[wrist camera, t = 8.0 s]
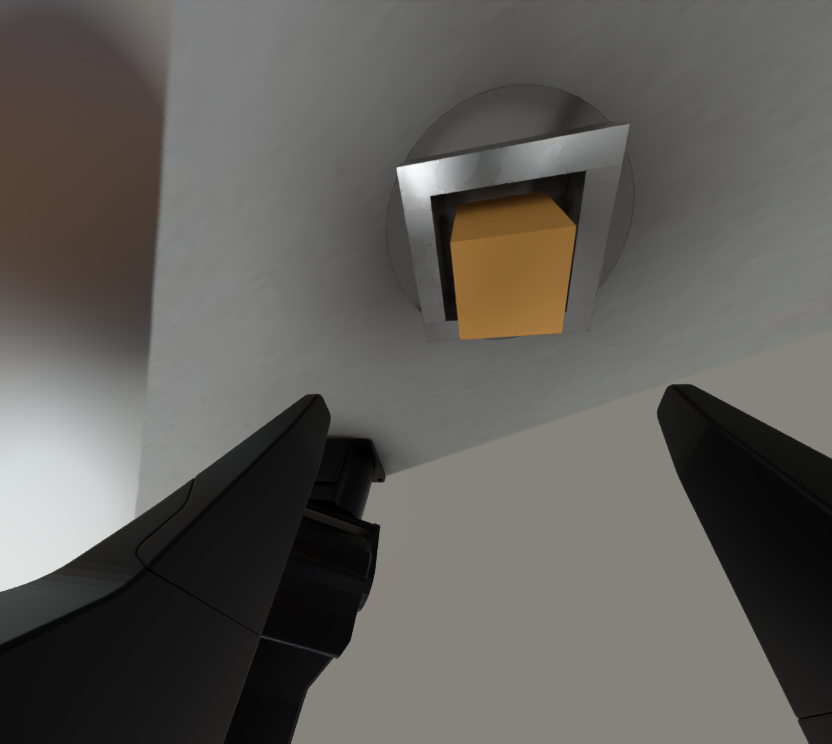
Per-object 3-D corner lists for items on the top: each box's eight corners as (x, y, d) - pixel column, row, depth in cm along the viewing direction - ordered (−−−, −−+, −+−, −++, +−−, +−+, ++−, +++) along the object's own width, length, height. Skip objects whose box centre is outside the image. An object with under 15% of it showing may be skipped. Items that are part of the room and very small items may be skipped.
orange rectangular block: (538, 273, 17) (561, 333, 12) (463, 281, 18) (459, 339, 13) (544, 190, 15) (576, 226, 10) (457, 204, 15) (450, 242, 11)
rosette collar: (601, 325, 19) (620, 357, 17) (410, 338, 22) (402, 367, 19) (662, 51, 12) (712, 34, 9) (364, 119, 14) (341, 120, 12)
